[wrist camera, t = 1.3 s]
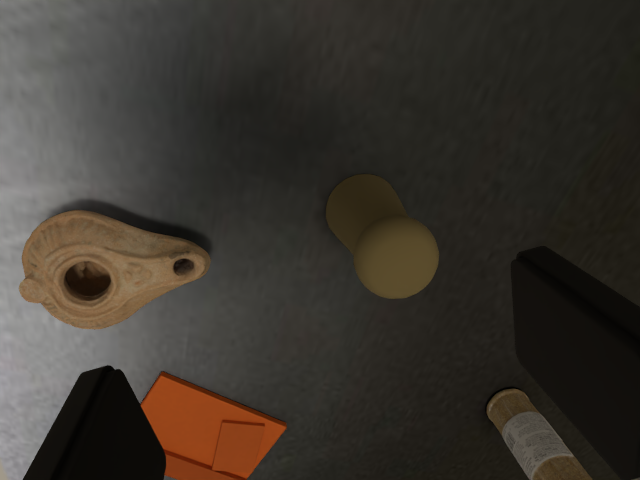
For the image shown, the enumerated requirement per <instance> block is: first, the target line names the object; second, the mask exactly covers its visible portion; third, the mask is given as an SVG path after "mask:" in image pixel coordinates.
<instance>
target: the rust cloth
mask: <svg viewBox="0 0 640 480" xmlns="http://www.w3.org/2000/svg"><path fill="white" fill-rule="evenodd" d="M140 405H141V407H142V409H143V411H144V413H145V415H146V417H147V419H148V421H149V423H150V424H151V426H152V428H153V430H154V432H155V434H156V436H157V438H158V440H159V442H160V444H161V445H162V447H163V449H164V452H165V455H166V470H165V475H166V476H169V477H172V478H175V479H178V480H247V478H248V476H249V475H250V474H251V473H253V470H254V469H255V467H256V466H257V465H258V464H259V462H260V461H261V460H262V458H263V457H264V456H265V455H266V453H267V452H268V451H269V450H270V448H271V447H272V446H273V444H274V443H275V442H276V441H277V439H278V438H279V437H280V435H281V434H282V433H283V432H284V430H285V429H286V428H287V425H286V423H285V422H283V421H280V420H278V419H275V418H273V417H271V416H268V415H266V414H263V413H261V412H259V411H256V410H254V409H251V408H249V407H247V406H244V405H242V404H239V403H237V402H235V401H232V400H230V399H227V398H225V397H223V396H220V395H218V394H215V393H213V392H211V391H208V390H206V389H203V388H201V387H199V386H196V385H194V384H191V383H189V382H187V381H184V380H182V379H179V378H177V377H174V376H172V375H170V374H167V373H165V372H161V374H160V375H159V377H158V378H157V380H156V381H155V383H154V384H153V386H152V387H151V389H150V391H149V392H148V394H147V395H146V397H145V398H144V400H143V401H142V403H141V404H140Z"/></svg>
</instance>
